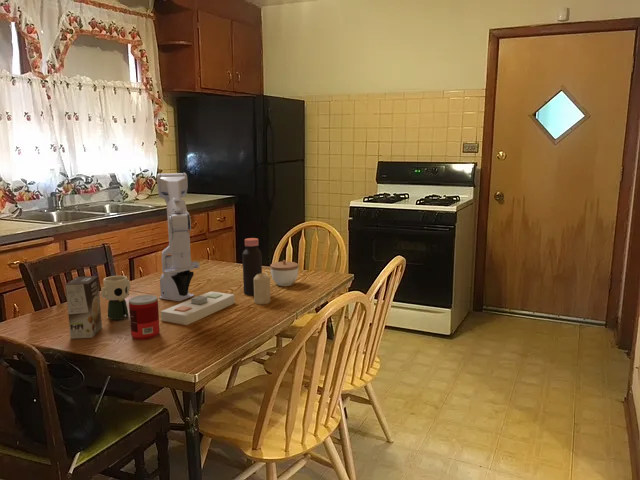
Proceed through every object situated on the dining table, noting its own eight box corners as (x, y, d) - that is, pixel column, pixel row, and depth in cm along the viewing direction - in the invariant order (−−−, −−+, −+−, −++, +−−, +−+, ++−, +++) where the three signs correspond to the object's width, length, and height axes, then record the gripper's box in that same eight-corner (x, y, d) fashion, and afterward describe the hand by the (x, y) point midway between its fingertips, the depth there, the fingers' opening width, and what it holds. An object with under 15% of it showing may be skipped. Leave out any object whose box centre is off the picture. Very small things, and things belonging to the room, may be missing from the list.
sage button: (207, 303, 188) (206, 295, 188) (213, 301, 191) (213, 293, 191) (215, 305, 187) (215, 297, 186) (222, 302, 190) (221, 294, 189)
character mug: (112, 325, 169) (108, 283, 167) (96, 321, 173) (92, 280, 171) (139, 315, 179) (137, 275, 176) (124, 311, 182) (121, 273, 180)
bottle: (240, 294, 201) (238, 240, 197) (249, 290, 207) (247, 237, 203) (256, 296, 198) (255, 241, 195) (265, 291, 204) (264, 238, 201)
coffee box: (93, 338, 158) (88, 283, 155) (69, 339, 158) (64, 284, 155) (102, 327, 167) (98, 275, 164) (80, 328, 167) (76, 276, 164)
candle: (267, 304, 188) (267, 276, 187) (252, 304, 190) (251, 275, 188) (272, 300, 194) (271, 272, 192) (257, 299, 195) (256, 271, 193)
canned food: (165, 332, 163) (163, 295, 161) (148, 341, 156) (145, 303, 153) (143, 329, 165) (140, 293, 163) (125, 338, 158) (122, 301, 156)
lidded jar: (304, 282, 217) (303, 259, 215) (287, 289, 208) (287, 264, 206) (281, 279, 222) (281, 256, 221) (265, 285, 213) (264, 261, 212)
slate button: (191, 306, 181) (191, 298, 180) (198, 303, 184) (198, 295, 184) (200, 308, 179) (200, 299, 179) (207, 305, 182) (207, 296, 182)
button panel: (161, 320, 173) (160, 311, 173) (211, 299, 195) (210, 291, 195) (186, 325, 169) (186, 315, 168) (234, 303, 191) (234, 294, 190)
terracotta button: (175, 317, 174) (174, 308, 174) (182, 314, 177) (182, 305, 177) (184, 319, 172) (183, 310, 172) (191, 315, 176) (191, 307, 175)
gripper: (175, 258, 164) (177, 302, 166) (206, 249, 176) (208, 290, 179) (156, 256, 167) (159, 299, 169) (188, 247, 179) (190, 288, 182)
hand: (183, 295), depth 174 cm, fingers closed
